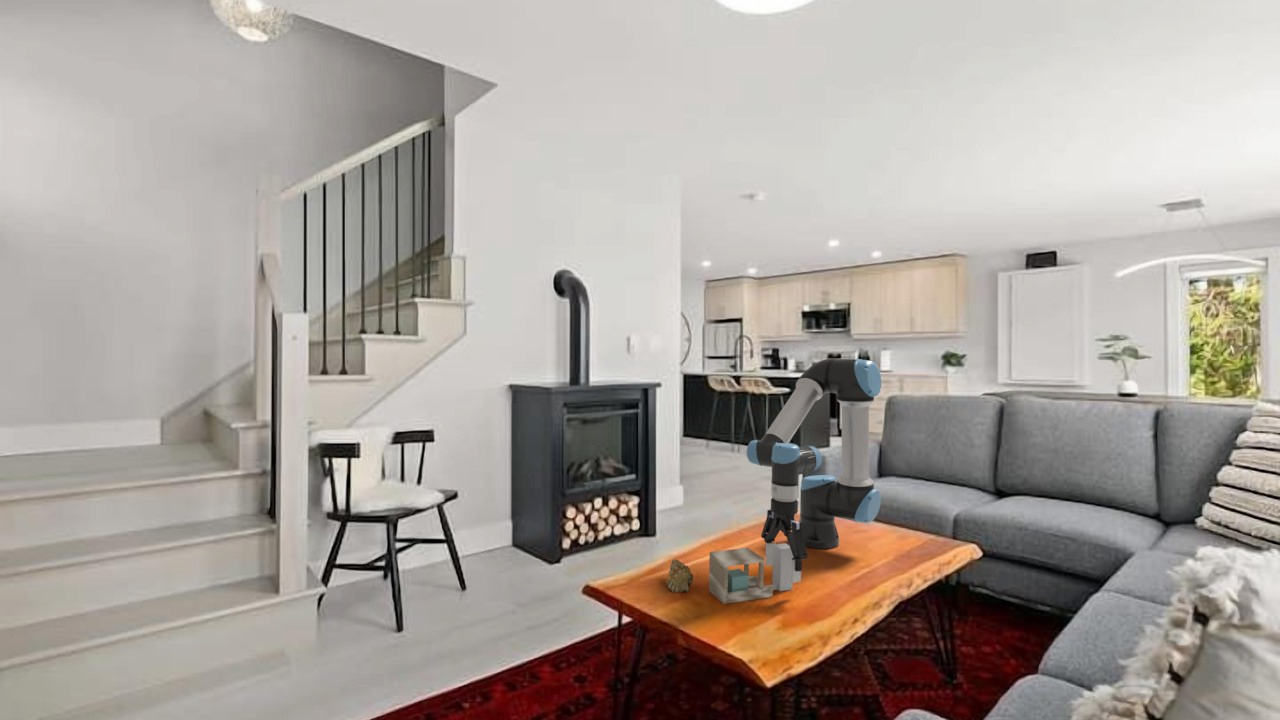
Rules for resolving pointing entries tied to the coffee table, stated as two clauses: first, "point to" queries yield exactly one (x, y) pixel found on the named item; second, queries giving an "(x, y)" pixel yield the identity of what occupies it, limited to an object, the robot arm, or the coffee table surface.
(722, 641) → the coffee table surface
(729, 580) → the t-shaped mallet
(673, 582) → the seashell
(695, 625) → the coffee table surface
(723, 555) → the shelf
